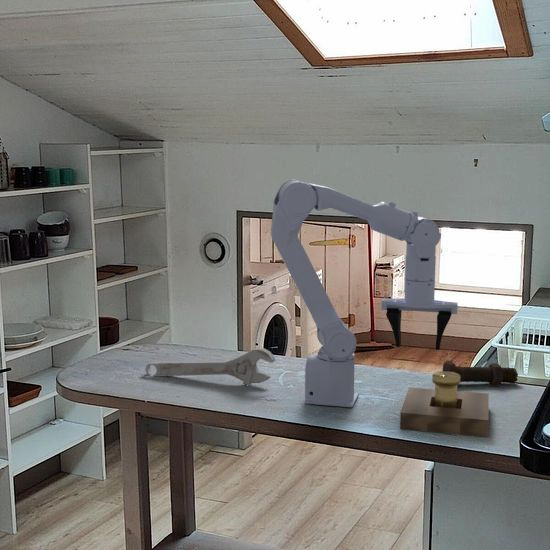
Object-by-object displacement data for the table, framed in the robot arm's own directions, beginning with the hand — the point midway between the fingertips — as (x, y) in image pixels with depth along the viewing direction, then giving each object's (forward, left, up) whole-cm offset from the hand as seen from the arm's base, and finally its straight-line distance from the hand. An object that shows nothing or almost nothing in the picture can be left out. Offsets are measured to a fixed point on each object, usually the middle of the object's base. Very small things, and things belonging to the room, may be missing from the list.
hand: (417, 347), depth 155 cm
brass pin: (+6, -10, -10) cm, 16 cm away
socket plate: (+6, -11, -10) cm, 16 cm away
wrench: (-44, 0, -11) cm, 45 cm away
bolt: (+12, +12, -11) cm, 20 cm away
